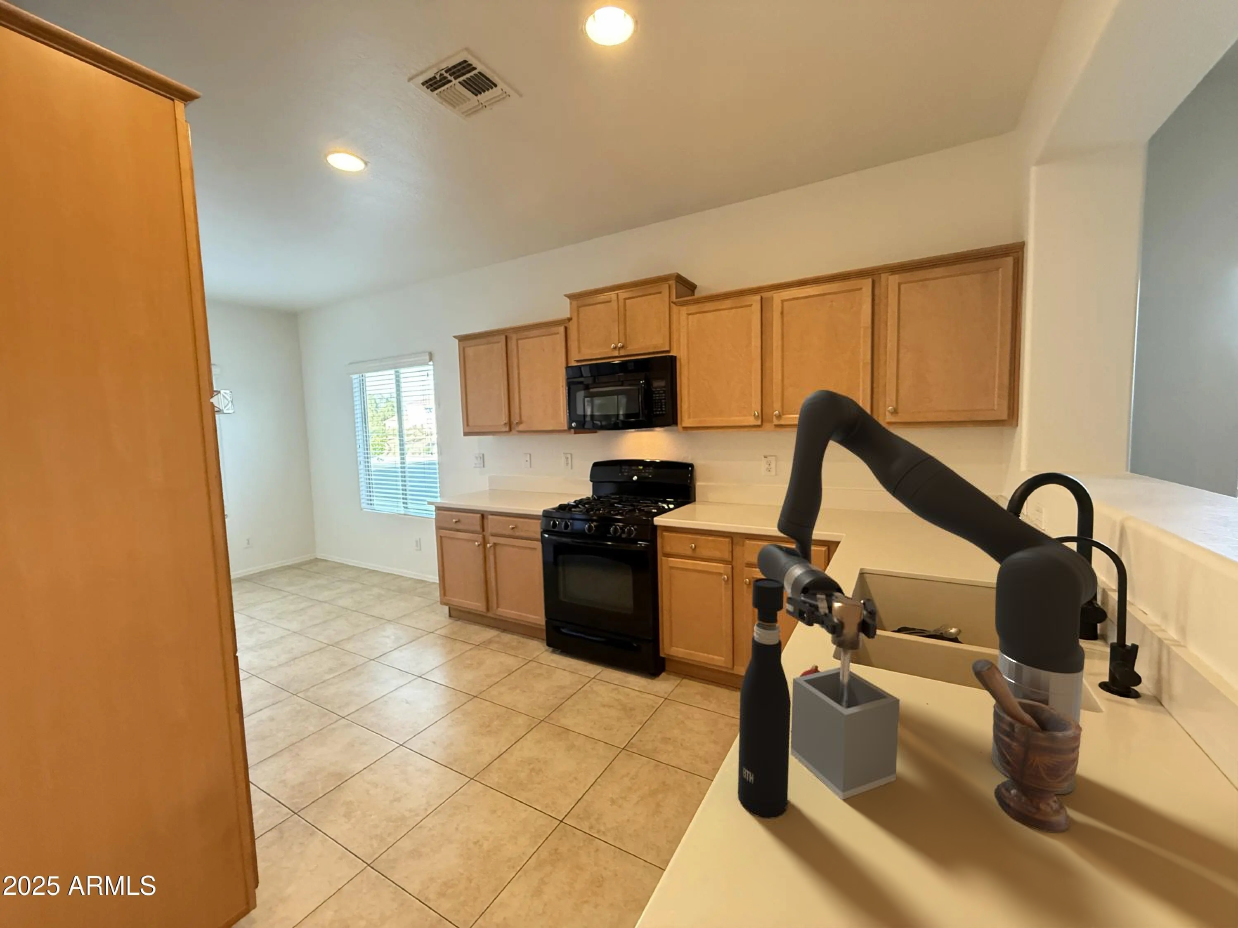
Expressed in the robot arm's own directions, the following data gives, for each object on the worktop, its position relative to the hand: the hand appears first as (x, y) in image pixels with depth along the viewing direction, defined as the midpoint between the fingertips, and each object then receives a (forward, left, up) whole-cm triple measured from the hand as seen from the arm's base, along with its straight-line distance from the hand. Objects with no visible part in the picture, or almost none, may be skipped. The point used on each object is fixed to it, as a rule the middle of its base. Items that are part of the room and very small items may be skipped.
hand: (855, 631), depth 68 cm
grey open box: (-1, -3, -22) cm, 22 cm away
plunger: (-1, -3, -16) cm, 17 cm away
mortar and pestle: (-16, +12, -22) cm, 30 cm away
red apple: (-8, -16, -22) cm, 28 cm away
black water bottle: (+14, -2, -22) cm, 26 cm away
